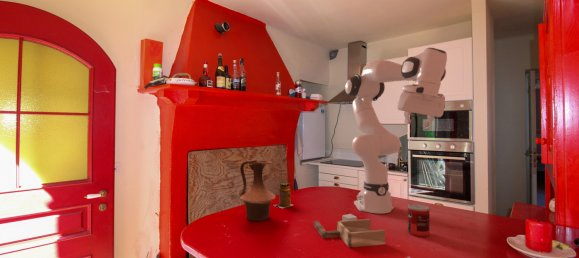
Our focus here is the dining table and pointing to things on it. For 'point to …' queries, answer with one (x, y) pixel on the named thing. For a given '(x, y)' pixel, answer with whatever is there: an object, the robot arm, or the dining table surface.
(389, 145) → the robot arm
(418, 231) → the canned food
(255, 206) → the pitcher
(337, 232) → the crook tool
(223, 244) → the dining table surface
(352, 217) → the block
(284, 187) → the condiment
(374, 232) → the cubby
